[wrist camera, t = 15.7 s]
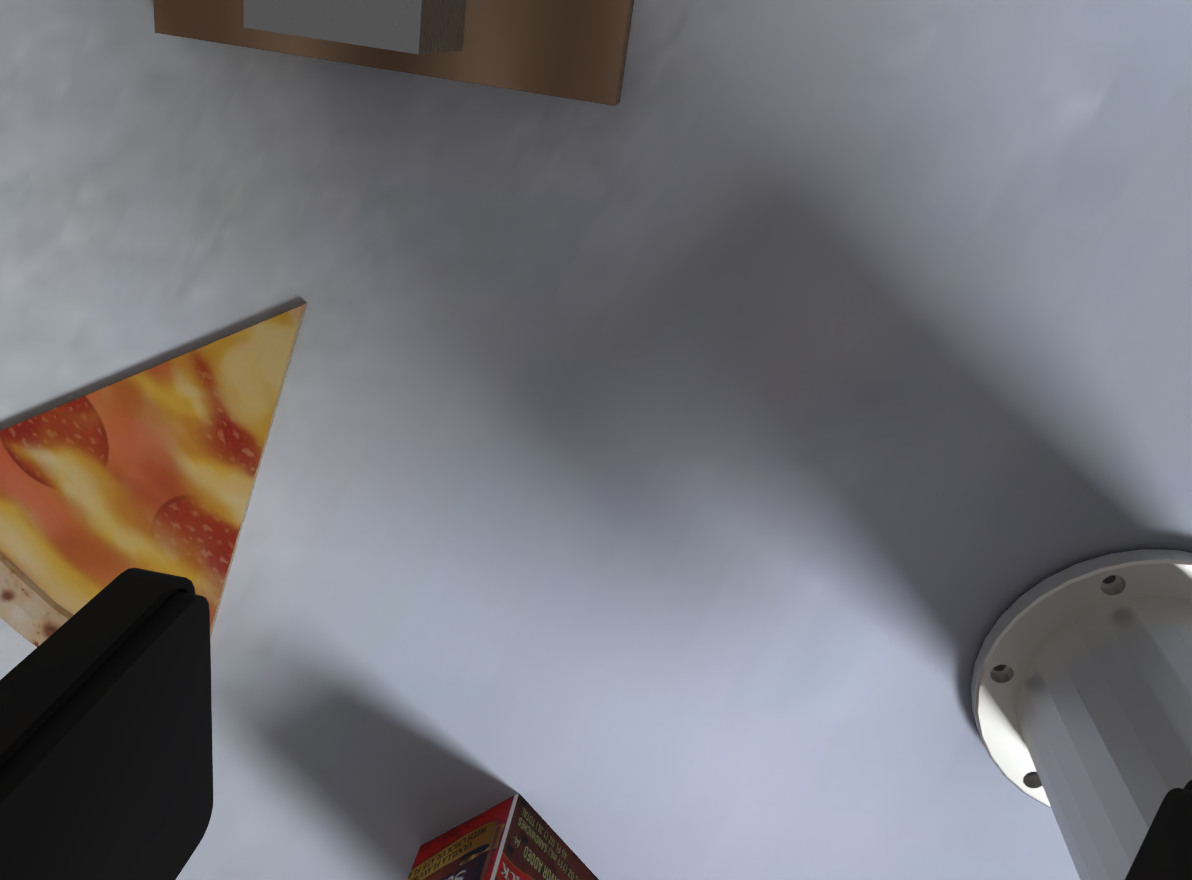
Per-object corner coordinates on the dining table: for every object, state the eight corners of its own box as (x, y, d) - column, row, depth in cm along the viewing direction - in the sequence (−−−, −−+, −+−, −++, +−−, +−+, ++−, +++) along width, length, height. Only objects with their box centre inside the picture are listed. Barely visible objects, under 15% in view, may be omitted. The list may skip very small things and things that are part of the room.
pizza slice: (479, 622, 44) (467, 648, 42) (87, 739, 50) (62, 767, 48) (311, 299, 39) (290, 312, 37) (-101, 470, 45) (-137, 489, 43)
